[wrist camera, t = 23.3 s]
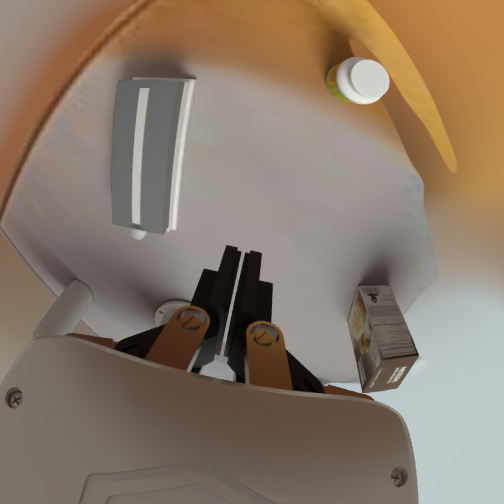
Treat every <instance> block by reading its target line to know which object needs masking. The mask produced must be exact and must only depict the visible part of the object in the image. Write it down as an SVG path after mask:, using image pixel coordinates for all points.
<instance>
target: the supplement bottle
mask: <svg viewBox="0 0 504 504" xmlns="http://www.w3.org/2000/svg"><path fill="white" fill-rule="evenodd" d="M326 85H327V88H328V90H329V92H330V93H331V94H332V96H334V97H335V98H336V99H338V100H339V101H342V102H345V103H356V104H370V103H373V102H375V101H377V100H378V99H379V98H380V97H381V96H382V95H383V94H385V92H386V91H387V89H388V87H389V76H388V73H387V71H386V70H385V68H384V67H383V66H382V65H381V64H379V63H378V62H376V61H373V60H369V59H367V58H364V57H352V58H349V59H346V60H344V61H342V62H341V63H339V64H337V65H335V66H334V67H332V68H331V69H330V70H329V72H328V74H327V77H326Z"/></svg>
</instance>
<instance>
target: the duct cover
mask: <svg viewBox="0 0 504 504" xmlns="http://www.w3.org/2000/svg"><path fill="white" fill-rule="evenodd" d="M184 83H185V82H182V81H168V80H118V85H117V93H116V101H115V111H114V123H113V138H112V166H111V188H112V217H113V224H115V225H120V226H124V227H129V228H130V229H129V232H130V235H131V236H132V237H133V238H134V239H137V240H141V239H142V238H143V237H144V236H145V235H146V234H147V232H152V233H157V234H161V235H163V234H164V232H165V231H166V230H167V228H168V227H169V211H170V196H171V184H172V172H173V162H174V153H175V144H176V136H177V128H178V121H179V114H180V108H181V101H182V95H183V89H184Z"/></svg>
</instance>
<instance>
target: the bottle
mask: <svg viewBox="0 0 504 504" xmlns="http://www.w3.org/2000/svg"><path fill="white" fill-rule="evenodd" d="M92 301H93V294H92V292H91V290H90V289H89V287H88V286H87V285H86V284H84V283H83V282H81V281H79V280H73V281H72V282H71V283H70V284H69V286H68V287H67V288H66V289H65V290H64V291H63V293H62V294H61V295H60V297H59V298H58V299H57V300H56V302H55V303H54V304H53V306H52V307H51V309H50V310H49V311H48V312H47V314H46V315H45V317H44V318H43V319H42V321H41V322H40V324H39V325H38V326H37V328H36V329H35V331H34V332H33V340H34V339H35V338H37V337H40V336H45V335H65V334H68V333H71V332H72V331H73V329H74V328H75V326H76V325H77V323H78V322H79V320H80V319H81V317H82V316H83V315H84V313H85V312H86V310H87V309H88V307H89V306H90V304H91V303H92Z"/></svg>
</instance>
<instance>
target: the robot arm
mask: <svg viewBox="0 0 504 504" xmlns="http://www.w3.org/2000/svg"><path fill="white" fill-rule="evenodd" d="M237 250H238V248H237V247H233V246H228V245H226V248H225V251H224V254H223V257H222V261H221V264H220V267H219V270H218V271H213V270H209V269H204V270H203V272H202V275H201V277H200V280H199V283H198V285H197V288H196V291H195V293H194V296H193V299H192V301H191V303H188V302H184V301H169V302H166V303H164V304H162V305H161V306H160V307H159V308H158V309H157V311H156V313H155V323H156V326H157V327H156V328H153V329H150V330H147V331H145V332H142V333H139V334H136V335H133V336H131V337H128V338H125V339H123V340H121V341H119V342H115V341H114V339H111V338H103V337H96V336H90V335H83V334H77V333H68V334H65V335H45V336H40V337H37V338H35V339H34V340H32V341H31V342H30V343H29V344H28V345H27V346H26V347H25V348H24V349H23V350H22V351H21V353H20V354H19V355H18V357H17V358H16V359H15V361H14V363H13V364H12V366H11V367H10V369H9V370H8V372H7V374H6V375H5V377H4V379H3V381H2V383H1V385H0V504H418V486H417V475H416V465H415V459H414V453H413V447H412V442H411V439H410V434H409V431H408V428H407V425H406V423H405V421H404V419H403V417H402V416H401V415H400V413H398V412H397V411H396V410H395V409H393V408H391V407H390V406H388V405H385V404H383V403H380V402H377V401H375V400H374V399H373V398H372V397H370V396H368V395H366V394H361V393H358V392H354V391H350V390H346V389H343V388H339V387H336V386H332V385H328V386H324V385H322V384H321V382H320V381H319V380H318V379H317V378H316V377H315V376H314V375H313V374H312V373H311V372H310V371H308V370H307V369H306V368H305V367H304V366H303V365H302V364H301V363H300V362H299V361H298V360H297V359H296V358H295V357H294V356H292V355H291V354H290V353H289V352H288V351H287V350H286V348H285V343H284V337H283V334H282V331H281V330H280V329H279V328H278V327H277V326H276V325H274V324H272V323H271V316H272V292H273V284H272V283H269V282H264V281H259V277H260V267H261V258H262V253H260V252H256V251H251V250H250V253H246V252H245V256H244V260H243V265H242V269H241V274H240V278H239V283H238V287H237V292H236V296H235V301H234V306H233V311H232V316H231V321H230V326H229V331H228V336H227V341H226V346H225V352H224V356H226V357H228V362H227V364H228V365H229V366H230V367H231V369H232V370H233V371H234V375H233V381H228V380H223V379H218V378H214V377H209V376H205V375H201V373H202V371H203V368H204V365H206V364H208V363H210V362H212V361H214V356H215V354H216V355H220V351H221V346H222V342H223V337H224V332H225V327H226V323H227V318H228V313H229V308H230V304H231V299H232V294H233V290H234V285H235V280H236V276H237V271H238V266H239V262H240V257H241V251H237Z"/></svg>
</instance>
